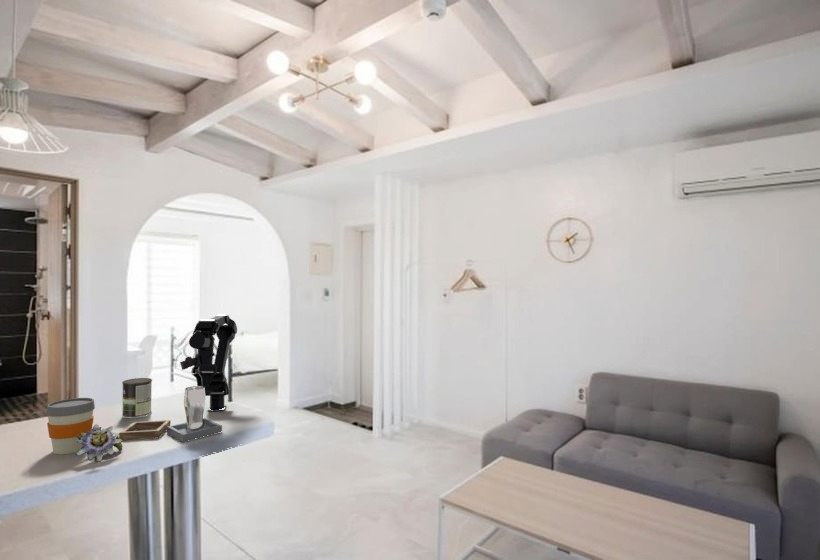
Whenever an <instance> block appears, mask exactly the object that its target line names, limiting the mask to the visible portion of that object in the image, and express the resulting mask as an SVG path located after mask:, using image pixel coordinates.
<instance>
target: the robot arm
mask: <svg viewBox="0 0 820 560" xmlns="http://www.w3.org/2000/svg"><path fill="white" fill-rule="evenodd" d="M237 332H238V326H237V324H236V321H235V320H233V319H232V318H230V316H229V314H216V315H215V316H213V317H211V318H209V319H199V320H198V322H196V324H195V328H194V330H193V331H192V335H191V336H190V338H189V340H188V343H189V344H188V345H189V346H190V347H191V348H193V349H196V350H197V352H196V354H195V357H192V356H187V357H184V358H185V359H184V360H182V361H180V362H179V364H180V367H181V370H182V371H184V370H186V369H188V368H191V375H192V376H193V377H194V378H195V379H196V384H197V385H196V386H204V387H205V397H209V408H210V409H211V410H219V409H222V408H224V407H226V408H227V404H225V396H229V395H230V386H229V384H228V381H227V380H228V379H227V377H226V375H225V371H226V370H225V369H226V365H227V360H228V354H229V350H230V344H231V343H232V342H233V341H234V340H235V338H236V334H237ZM214 336H216V337H217V339H218V343H217V348H216V352H215V353H214V349H215V348H214V347H215V340H216V338H215V337H214ZM214 357H215V358H214ZM213 360H214V363H213Z"/></svg>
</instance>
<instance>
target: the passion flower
mask: <svg viewBox="0 0 820 560" xmlns="http://www.w3.org/2000/svg"><path fill="white" fill-rule="evenodd" d="M113 428H114V426H112V425H111V426H109V427H106V428H102V426H100V425H99V424H96V423H95V424H94V425H93V426H92V430H90V431H89V432H86V433H81V434H80V435H81V436H80V437H79V436H78V435H77V438H78V439H79V441H77V443H79V444H82V447H81V448H80V449H79V450H78V451H77V452H74V454H75V456H81V455H83V454H85V453H86V456H87V460H88V461H89V462H90V461H92V460H93V459H95V460H96V462H97V463H98V462H100V461H102V459H103V457H104V456H103V455H104V454H105V453H106V454H107V455H113V454H114V449H113V448H114V447H115V448H116V449H117V450H118V451H119V453H121V452H122V450H123V444H122V443H123V440H121V439H120V438H119V433H120V432H113ZM81 437H82V439H81Z"/></svg>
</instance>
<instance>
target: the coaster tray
mask: <svg viewBox="0 0 820 560" xmlns="http://www.w3.org/2000/svg"><path fill="white" fill-rule="evenodd" d="M186 422H187V421H186ZM186 422H182V423H178V424H171V425H170V426H168V427H167V431H166V434H167V435H169V436H170V435H171V436H170V437H172V438H174V439H176V440H178V441H180V442H181V443H185V442H186V441H187V442H189V441H188V440H191V439H194V440H196V439H195V438H198V439H201V438H200V437H202V438H204V437H203V436H206V437H208V436H207V435H210V436H212V435H211V434H214V433H218V432H221V431H222V432H223V425H222V424H219V423H217V422H215V421H212V420H210V419H208V418H206V417H204V418H203V425H204V429H202V430H198V431H194V432H186V431H185V428H186ZM218 434H219V433H218ZM214 435H215V434H214ZM191 441H192V440H191Z"/></svg>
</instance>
